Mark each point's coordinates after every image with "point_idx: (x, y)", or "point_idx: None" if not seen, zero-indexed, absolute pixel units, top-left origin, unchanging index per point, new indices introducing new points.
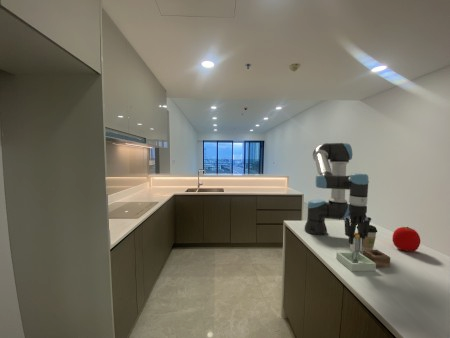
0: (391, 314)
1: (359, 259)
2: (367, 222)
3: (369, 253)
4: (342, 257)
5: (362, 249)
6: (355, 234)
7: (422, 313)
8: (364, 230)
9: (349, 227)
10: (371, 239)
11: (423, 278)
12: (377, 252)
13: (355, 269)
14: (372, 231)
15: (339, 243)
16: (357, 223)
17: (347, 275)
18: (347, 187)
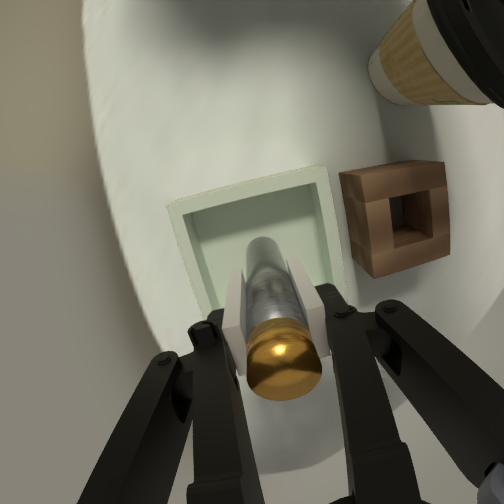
0: None
1: (311, 198)
2: (468, 476)
3: (375, 225)
4: (186, 265)
5: (382, 85)
6: (259, 395)
7: (316, 444)
8: (405, 375)
9: (163, 483)
10: (465, 104)
11: (463, 299)
12: (428, 195)
13: None
14: None
15: None
16: (351, 459)
17: (186, 350)
18: None
